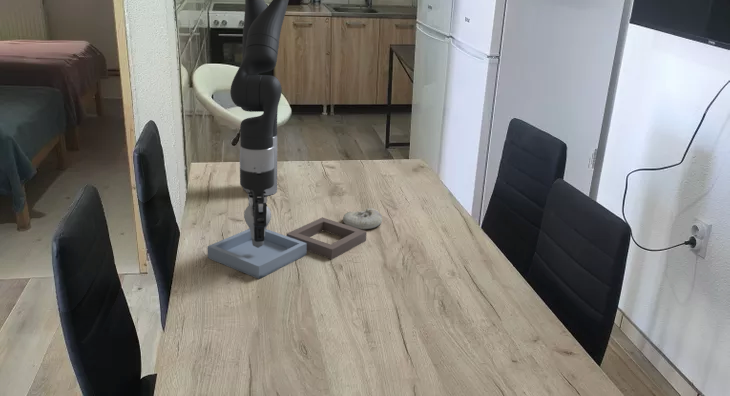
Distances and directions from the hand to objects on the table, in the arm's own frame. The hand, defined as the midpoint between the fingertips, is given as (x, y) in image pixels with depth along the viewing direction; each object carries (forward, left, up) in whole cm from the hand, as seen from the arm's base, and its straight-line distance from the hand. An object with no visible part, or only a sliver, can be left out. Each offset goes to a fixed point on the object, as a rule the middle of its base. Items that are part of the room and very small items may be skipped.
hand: (257, 235), depth 149 cm
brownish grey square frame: (+7, +17, -5) cm, 19 cm away
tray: (0, 0, -5) cm, 5 cm away
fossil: (+7, +33, -6) cm, 34 cm away
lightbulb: (0, 0, -3) cm, 3 cm away
